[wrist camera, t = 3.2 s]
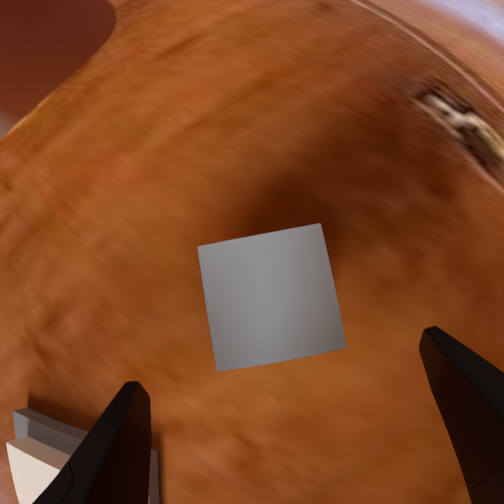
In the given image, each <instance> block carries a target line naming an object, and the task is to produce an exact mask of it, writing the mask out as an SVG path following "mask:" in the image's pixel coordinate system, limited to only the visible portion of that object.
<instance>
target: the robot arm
mask: <svg viewBox="0 0 504 504" xmlns="http://www.w3.org/2000/svg"><path fill="white" fill-rule="evenodd" d="M419 352H420V355H421V358H422V361H423V364H424V368H425V371H426V374H427V377H428V381H429V384H430V387H431V390H432V393H433V396H434V398H435V401H436V403H437V406H438V408H439V410H440V413H441V415H442V418H443V421H444V423H445V426H446V428H447V431H448V434H449V436H450V439H451V442H452V444H453V447H454V450H455V453H456V456H457V458H458V461H459V464H460V467H461V470H462V473H463V476H464V479H465V483H466V486H467V489H468V493H469V496H470V500H471V503H472V504H504V372H502V371H501V370H499V369H498V368H497V367H495V366H494V365H492V364H491V363H490V362H488V361H487V360H485V359H484V358H482V357H481V356H479V355H478V354H477V353H475V352H474V351H472V350H471V349H469V348H468V347H466V346H465V345H464V344H462V343H461V342H459V341H458V340H456V339H455V338H453V337H452V336H450V335H449V334H447V333H446V332H444V331H443V330H441V329H440V328H438V327H437V326H432V327H429V328H426V329H424V331H423V333H422V337H421V341H420V344H419ZM151 442H152V440H151V409H150V397H149V395H148V393H147V392H146V390H145V389H144V388H143V386H142V385H141V384H140V382H138V381H128V382H126V383H125V384H124V385H123V386H122V388H121V389H120V390H119V392H118V393H117V394H116V396H115V397H114V398H113V400H112V401H111V402H110V404H109V405H108V406H107V408H106V409H105V411H104V412H103V413H102V415H101V416H100V417H99V419H98V420H97V421H96V423H95V424H94V425H93V427H92V428H91V429H90V431H89V432H88V433H87V435H86V436H85V438H84V439H83V440H82V442H81V443H80V444H79V446H78V447H77V448H76V450H75V451H74V453H73V454H72V455H71V457H70V458H69V460H68V461H67V462H66V463H65V465H64V466H63V468H62V469H61V470H60V472H59V473H58V474H57V476H56V477H55V478H54V479H53V480H52V482H51V483H50V484H49V485H48V486H47V487H46V489H45V490H44V491H43V492H42V493H41V494H40V495H39V496H38V497H37V499H36V500H35V501H34V502H33V503H32V504H148V503H149V477H150V459H151Z"/></svg>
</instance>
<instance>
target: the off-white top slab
mask: <svg viewBox="0 0 504 504" xmlns="http://www.w3.org/2000/svg"><path fill="white" fill-rule="evenodd" d="M6 444H7V451H8V456H9V462H10V467H11V471H12V476H13V480H14V485H15V489H16V493H17V497H18V500H19V504H32V503H33V502H34V501H35V500H36V499H37V497H38V496H39V495H40V494H41V493H42V492H43V491H44V490H45V489H46V487H47V486H48V485H49V484H50V483H51V482H52V480H53V479H54V478H55V477H56V476H57V474H58V473H59V472H60V470H61V469H62V468H63V466H64V465H65V463H66V462H67V461H68V460H69V458H70V457H71V455H69V454H66V453H64V452H61V451H59V450H57V449H54V448H52V447H50V446H48V445H46V444H43V443H41V442H39V441H37V440H35V439H33V438H31V437H29V436H25V437H22V438H19V439H15V440H12V441H9V442H6Z"/></svg>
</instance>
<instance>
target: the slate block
mask: <svg viewBox="0 0 504 504" xmlns="http://www.w3.org/2000/svg"><path fill="white" fill-rule="evenodd" d="M198 253H199V261H200V268H201V275H202V282H203V289H204V295H205V302H206V308H207V315H208V321H209V327H210V333H211V339H212V345H213V351H214V357H215V362H216V368H217V371H225V370H232V369H239V368H246V367H252V366H258V365H264V364H270V363H276V362H282V361H287V360H292V359H297V358H302V357H307V356H312V355H317V354H322V353H326V352H331V351H335V350H340V349H344V348H347V347H346V341H345V336H344V330H343V325H342V320H341V315H340V309H339V304H338V299H337V294H336V290H335V285H334V280H333V275H332V271H331V266H330V262H329V257H328V253H327V248H326V244H325V240H324V236H323V231H322V227H321V223H318V224H313V225H307V226H302V227H296V228H291V229H286V230H280V231H275V232H270V233H264V234H259V235H254V236H249V237H244V238H238V239H233V240H228V241H223V242H218V243H213V244H208V245H203V246H198Z"/></svg>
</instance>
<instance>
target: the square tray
mask: <svg viewBox="0 0 504 504" xmlns="http://www.w3.org/2000/svg"><path fill="white" fill-rule="evenodd" d="M13 416H14V425H15V434H16V439H19V438H22V437H25V436H29V437H31V438H33V439H35V440H37V441H39V442H41V443H43V444H46V445H48V446H50V447H52V448H54V449H57V450H59V451H61V452H64V453H66V454H69V455H72V454H73V453H74V451H75V450H76V448H77V447H78V446H79V444H80V443H81V442H82V440H83V439H84V438H85V436H86V435H87V433H88V432H89V431H86V430H83V429H80V428H77V427H74V426H71V425H68V424H66V423H63V422H60V421H58V420H55V419H53V418H50V417H48V416H45V415H43V414H40V413H38V412H36V411H33V410H31V409H29V408H24V409H19V410H14V411H13ZM148 504H160V500H159V478H158V450H154V449H151V459H150V477H149V503H148Z"/></svg>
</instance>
